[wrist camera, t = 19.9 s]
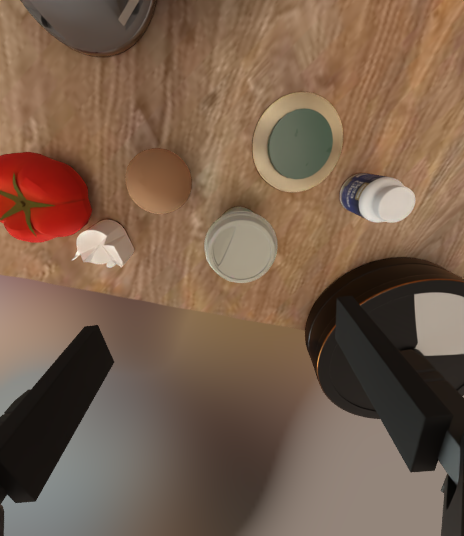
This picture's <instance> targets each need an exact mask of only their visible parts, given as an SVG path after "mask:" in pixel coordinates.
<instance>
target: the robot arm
mask: <svg viewBox="0 0 464 536" xmlns="http://www.w3.org/2000/svg"><path fill="white" fill-rule="evenodd" d="M21 2H22V3H23V5H24V6H25V7H26V9H27V10H28V11H29V13H30V14H31V15H32V16H33V17H34V18H35V19H36V20H37V21H38V23H39V24H40V25H41V26H43V27H44V28H45V29H46V30H47V31H48V32H49V33H50V34H51V35H53V36H54V37H55V38H56V39H58V40H59V41H61V42H62V43H64V44H65V45H67V46H69V47H70V48H72V49H74V50H76V51H78V52H80V53H83V54H86V55H90V56H96V57H106V56H113V55H116V54H119V53H122V52H123V51H125V50H127V49H129V48H130V47H131V46H133V45H134V44H135V43H136V42H137V41H138V40H139V39H140V37H141V36H142V35H143V33H144V32H145V30H146V29H147V27H148V25H149V23H150V20H151V18H152V15H153V12H154V9H155V5H156V0H21ZM335 339H336V341H337V342H338V344H339V346H340V348H341V349H342V351H343V353H344V355H345V357H346V358H347V360H348V362H349V364H350V365H351V367H352V369H353V371H354V373H355V374H356V376H357V378H358V380H359V381H360V383H361V385H362V387H363V389H364V390H365V392H366V394H367V396H368V397H369V399H370V401H371V403H372V405H373V406H374V408H375V410H376V412H377V413H378V415H379V417H380V419H381V420H382V422H383V424H384V426H385V427H386V429H387V431H388V433H389V435H390V436H391V438H392V440H393V442H394V444H395V445H396V447H397V449H398V451H399V453H400V454H401V456H402V458H403V460H404V461H405V463H406V465H407V466H408V468H409V470H410V472H421V471H434V470H435V468H436V464H437V462H438V460H439V462H440V463H441V464H442V466H443V467H444V469H445V470H446V472H447V476H446V479H445V481H444V484H443V486H442V489H441V491H442V492H443V493H444V505H443V517H442V530H441V536H464V398H463V397H462V396H461V395H460V394H459V393H458V391H457V390H456V389H455V388H454V387H453V386H452V385H451V384H450V383H449V382H448V381H446V380H445V378H444V377H443V376H442V375H441V374H440V373H439V372H438V371H436V368H435V367H434V366H433V365H432V364H431V363H430V362H429V361H428V360H427V359H426V358H425V357H423V356H422V355H420V354H418V353H417V352H415V351H414V350H412V349H411V350H401V351H398V349H397V348H396V347H395V346H394V345H393V344H392V342H391V341H390V340H389V339H388V338H387V336H386V335H385V334H384V333H383V332H382V331H381V329H380V328H379V327H378V326H377V325H376V324H375V322H374V321H373V320H372V319H371V318H370V316H369V315H368V314H367V313H366V312H365V311H364V309H363V308H362V307H361V306H360V305H359V304H358V302H357V301H356V300H355V299H354V298H353V296H343V297H337V308H336V332H335ZM113 363H114V361H113V358H112V356H111V354H110V352H109V349H108V347H107V345H106V343H105V340H104V338H103V336H102V334H101V331H100V329H99V326H98V325H95V326H86V327H84V328H83V329H82V330H81V332H80V333H79V334H78V335H77V336H76V338H75V339H74V340H73V341H72V342H71V343H70V345H69V346H68V347H67V348H66V349H65V350H64V352H63V353H62V354H61V355H60V356H59V357H58V359H57V360H56V361H55V362H54V363H53V364H52V366H51V367H50V368H49V369H48V370H47V372H46V373H45V374H44V375H43V376H42V378H41V379H40V380H39V381H38V382H37V383H36V384H35V386H34V387H33V388H32V389H31V390H27V391H26V392H25V393H24V394H23V395H21V396H20V397H19V398H18V399H16V400H15V401H14V402H13V403H12V404H11V406H10V407H9V408H8V409H7V410H6V411H5V414H4V415H2V416H1V417H0V536H4V509H3V506H2V505H1V503H2V501H3V500H4V498H5V496H6V495H7V494H8V496H10V498H11V499H12V500H13V501H14V502H15V503H21V502H34V501H36V500H37V498H38V496H39V494H40V493H41V491H42V489H43V487H44V485H45V484H46V482H47V480H48V479H49V477H50V475H51V473H52V471H53V470H54V468H55V466H56V464H57V462H58V461H59V459H60V457H61V455H62V454H63V452H64V450H65V448H66V447H67V445H68V443H69V441H70V440H71V438H72V436H73V434H74V432H75V431H76V429H77V427H78V425H79V424H80V422H81V420H82V418H83V417H84V415H85V413H86V411H87V409H88V408H89V406H90V404H91V402H92V401H93V399H94V397H95V395H96V393H97V392H98V390H99V388H100V386H101V385H102V383H103V381H104V379H105V377H106V376H107V374H108V372H109V370H110V369H111V367H112V365H113Z"/></svg>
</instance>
